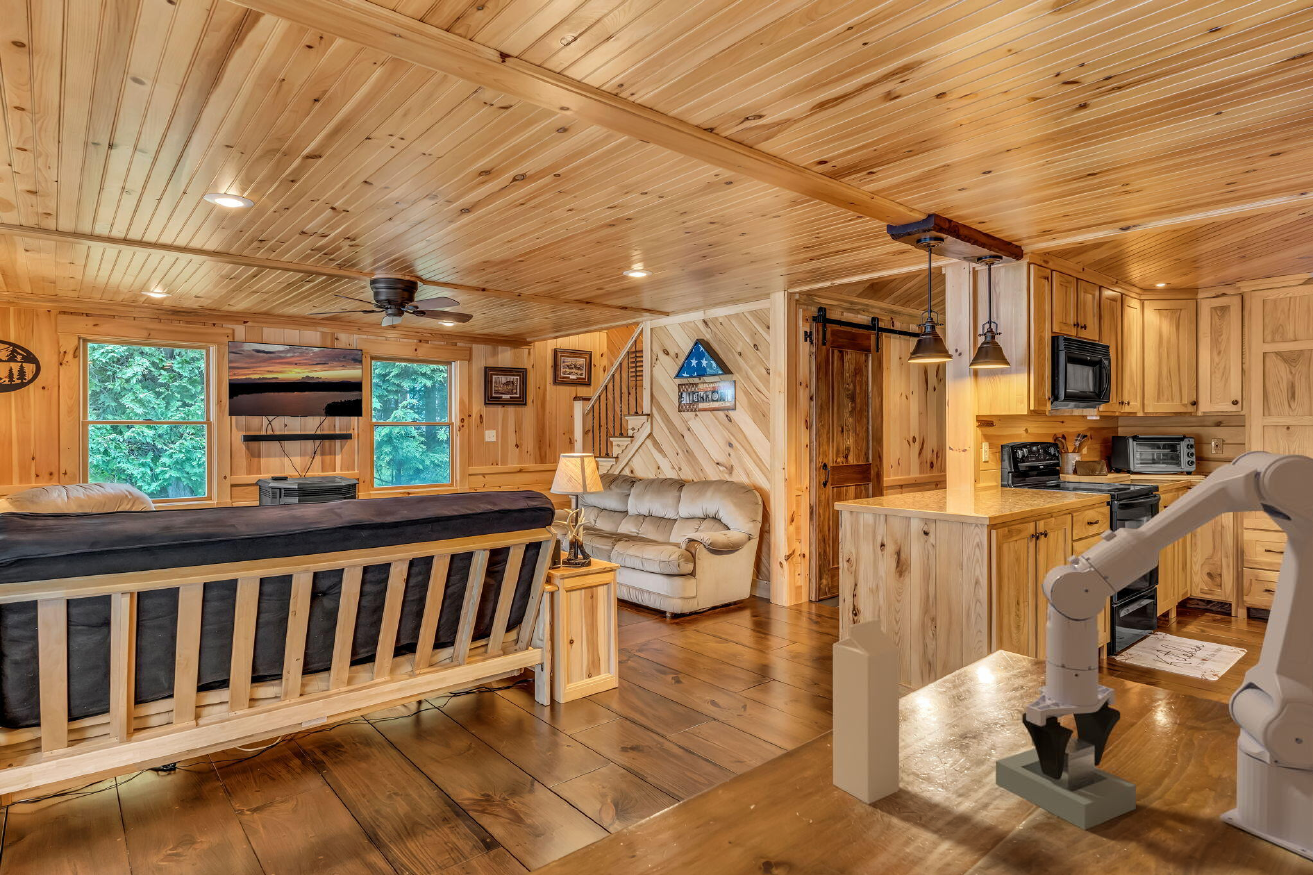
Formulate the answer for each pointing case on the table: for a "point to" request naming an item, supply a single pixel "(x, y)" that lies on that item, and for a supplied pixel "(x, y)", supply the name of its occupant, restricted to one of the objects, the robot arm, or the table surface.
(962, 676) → the table surface
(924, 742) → the table surface
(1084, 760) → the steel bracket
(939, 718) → the table surface
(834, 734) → the milk
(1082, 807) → the well block
